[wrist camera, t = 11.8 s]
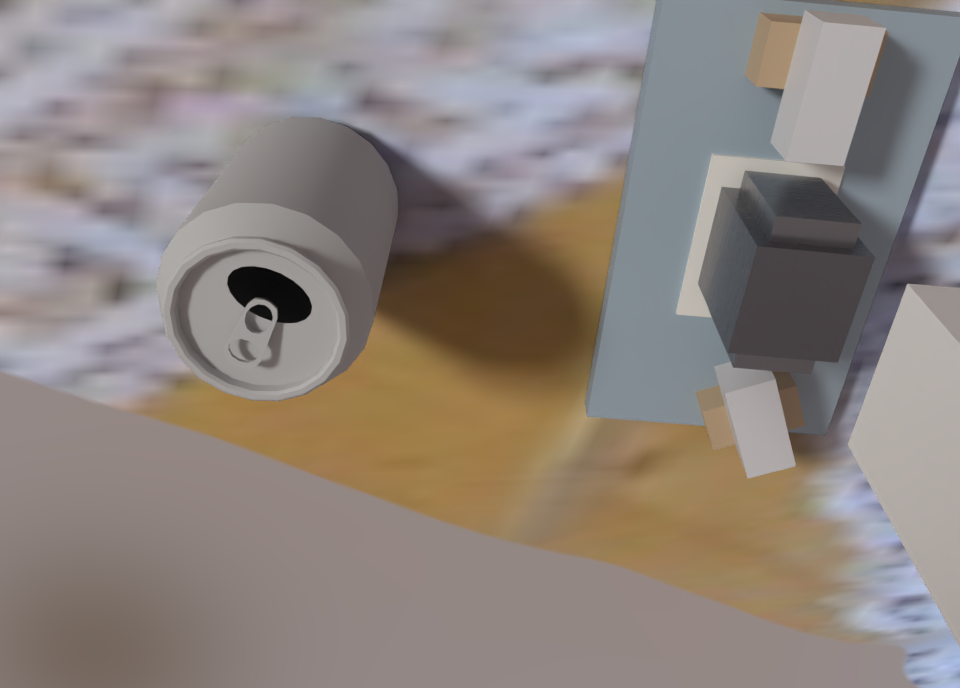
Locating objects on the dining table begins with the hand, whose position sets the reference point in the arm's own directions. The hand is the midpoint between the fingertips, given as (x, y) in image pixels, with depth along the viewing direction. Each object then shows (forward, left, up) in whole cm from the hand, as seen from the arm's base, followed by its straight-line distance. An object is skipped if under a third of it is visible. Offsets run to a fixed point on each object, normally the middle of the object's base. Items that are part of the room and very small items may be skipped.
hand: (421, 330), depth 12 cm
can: (+9, -6, -27) cm, 29 cm away
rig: (+9, +13, -27) cm, 31 cm away
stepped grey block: (+9, +14, -25) cm, 30 cm away
